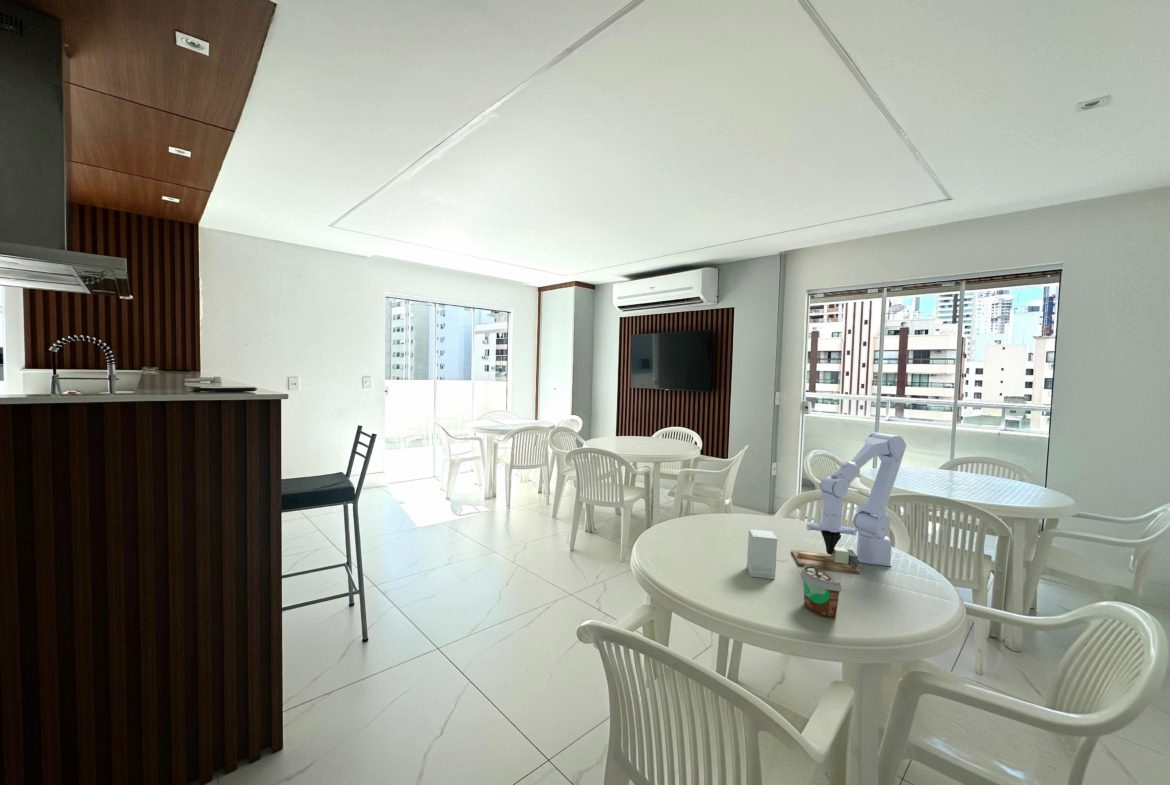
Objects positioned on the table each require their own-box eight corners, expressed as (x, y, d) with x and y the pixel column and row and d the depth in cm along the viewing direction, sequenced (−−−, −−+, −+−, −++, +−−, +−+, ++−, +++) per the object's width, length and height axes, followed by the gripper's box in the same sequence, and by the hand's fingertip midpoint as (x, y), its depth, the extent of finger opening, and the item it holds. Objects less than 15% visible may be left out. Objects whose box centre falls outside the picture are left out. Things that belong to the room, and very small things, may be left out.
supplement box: (775, 579, 136) (777, 539, 136) (750, 576, 138) (752, 536, 137) (770, 569, 144) (772, 530, 143) (746, 566, 145) (748, 528, 144)
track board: (847, 559, 154) (848, 546, 154) (859, 574, 143) (860, 560, 142) (791, 552, 159) (792, 539, 158) (798, 566, 147) (799, 552, 147)
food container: (790, 597, 125) (792, 562, 125) (810, 597, 126) (813, 562, 125) (816, 621, 113) (818, 583, 113) (839, 621, 114) (841, 583, 113)
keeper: (844, 558, 151) (844, 547, 151) (848, 564, 147) (849, 552, 147) (831, 557, 152) (831, 545, 152) (834, 562, 148) (835, 550, 148)
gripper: (810, 514, 148) (808, 554, 148) (860, 519, 144) (857, 561, 144) (806, 508, 154) (803, 547, 155) (853, 513, 151) (850, 552, 151)
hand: (829, 553), depth 150 cm, fingers closed
